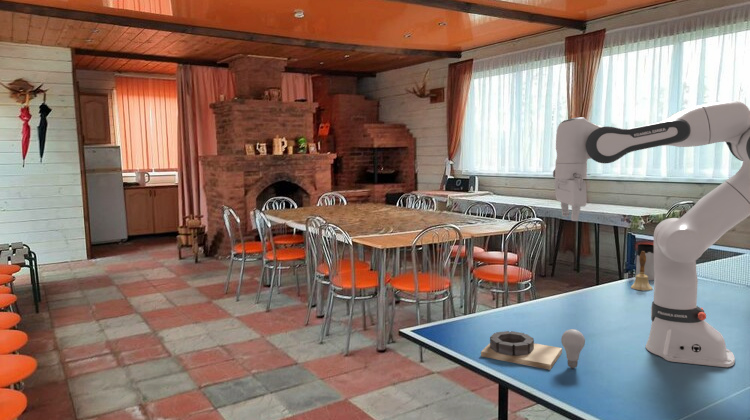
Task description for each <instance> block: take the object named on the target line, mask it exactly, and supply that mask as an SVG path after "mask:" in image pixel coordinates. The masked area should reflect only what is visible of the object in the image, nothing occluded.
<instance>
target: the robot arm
mask: <svg viewBox="0 0 750 420" xmlns="http://www.w3.org/2000/svg"><path fill="white" fill-rule="evenodd" d="M555 135H556V136H555V151H556V159H555V165H554V166H555V167H554V170H553V171H552V176H553V177H552V178H554V193H555V198H556V201H558V202H560V207H561V216H562V217H564V218H567V217H570V220H571V221H572V222H578V221H579V215H580V211H581V207H583V208H584V207H586V206H587V201H588V200H587V197H588V195H587V183H586V181H585V179H587V172H588V160H589V159H591V160H592V161H594V162H597V163H599V164H611V163H613V162H616V161H618V160H619V159H621V158H622V157H624V156H625V155H628V154H629V153H632V152H637V151H641V150H645V149H647V150H648V149H652V148H655V147H656V148H657V147H662V146H665V147H666V146H668V147H669V146H670V147H672V146H673V147H678V148H689V147H690V148H691V147H693V148H694V147H700V146H707V145H711V144H717V143H725V144H726V145H727V147H728V149H729V151H730V153H731V154H732V155H733V157H735V159H737V160H739V161H741V162H742V165H741V167H740V169H738V170H737V172H736V173H735V174H734V175H732V176H730V177H729V178H727V179H726V180H725V181H723V182H722V183H721V184H719V185H718V186H716V187H715V188H714V189H712V190H710V191H709V192H708V193H706V194H705V195H704V196H702V197H701V198H699V199H698V200H697V202H696V203H695V204H694V205H693V206H692V207H690V209H689V210H687V211H686V213H683V214H682V215H681V217H671V218H670V217H669V218H666V219H663V220H662V221H660V222H659V223H658V224H657V225H656V227H655V229H654V232H653V245H654V273H655V280H653V282H654V283H653V284H654V285H653V286H654V287H653V301H652V303H651V307H650V309H651V310H650V319H651V326H650V330H649V331H650V332H649V336H648V339H647V341H646V343H645V349H646V350H647V351H649V352H650V353H652V354H654V355H656V356H659V357H661V358H663V359H664V360H665V361H668V362H672V363H673V362H674V363H684V364H691V365H700V366H701V365H703V366H710V367H721V368H730V367H732V366H734V365H735V363H736V362H735V361H736V359H735V358H736V357H735V355H734V353H733V352H732V351H731V350H730V349H728V348H727V345H726V341H725V338H724V337H723V335H722V333H721V332H720V331H718V330H717V329H716V328H714V327H713V326H712V325H711V324H710V323H708V322H707V321H706V319H707V315H706V313H705V310H704V308H703V307H700V306H698V305H697V301H698V283H699V280H698V272H697V260H699V258H701V257H702V255H703V254H704V252H706V251H707V250H708V249H709V248H710V247H712V246H713V245H714V244H715V243H716V242H717V241H719V239H720V238H721V237H722V236H724V235H725V234H726V233H727V232H728V231H729V230H731V229H732V228H734V227H735V226H737V225H738V224H739V223H741V222H742V221H744V220H745V219H748V217H750V108H749V107H748V106H747V105H746V104H745V103H744V102H741V101H737V100H736V101H722V102H721V101H720V102H719V101H718V102H712V103H706V104H700V105H696V106H692V107H689V108H685V109H683V110H679V111H677V112H675V113H672V115H670V116H668V117H666V118H665V119H663V120H662V121H658V122H654V123H651V124H646V125H641V126H635V127H631V128H619V127H614V126H601V125H598V124H595V123H594V122H591V121H589V120H588V119H586V118H585V117H584V116H583V117H582V116H581V117H580V116H579V117H573V118H568V119H565V120H562V121H561V122H560V123H559V124H558V125H557V129H556V134H555ZM569 206H571V214H570V210H569Z"/></svg>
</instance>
